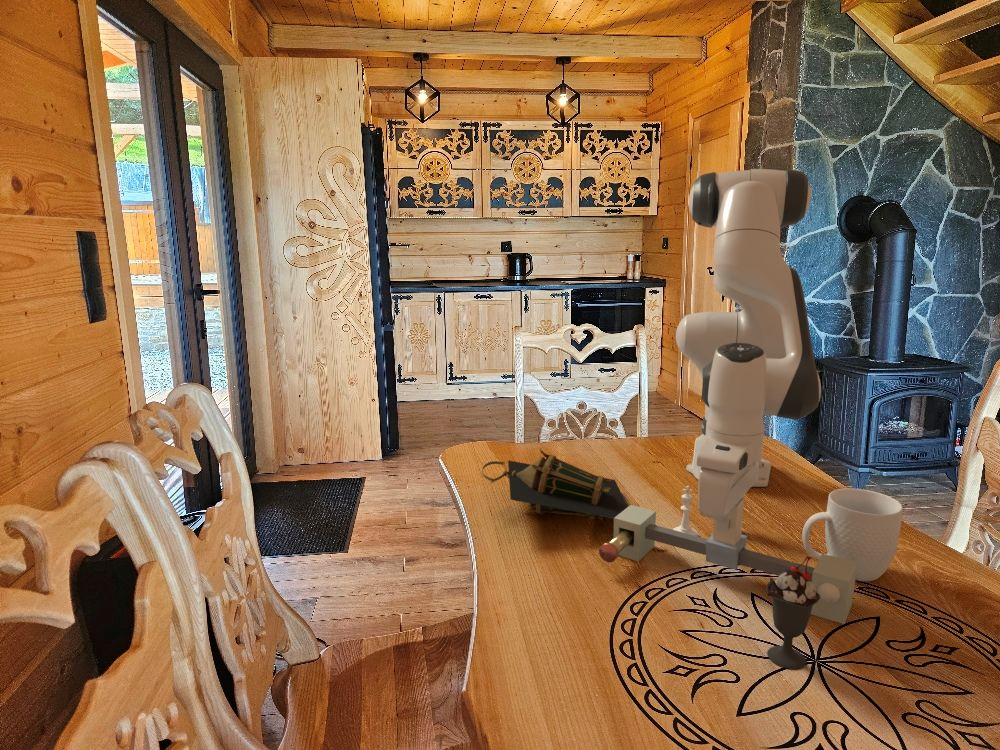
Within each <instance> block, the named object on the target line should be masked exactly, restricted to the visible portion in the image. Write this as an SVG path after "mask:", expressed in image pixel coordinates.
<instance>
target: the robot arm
mask: <svg viewBox="0 0 1000 750" xmlns="http://www.w3.org/2000/svg"><path fill="white" fill-rule="evenodd" d="M808 178H809V177H808V176H807V175H806V173H804V172H803V171H801V170H795V169H788V168H787V169H785V170H779V169H770V168H769V169H768V168H767V169H766V168H750V169H748V170H732V171H725V172H724V171H723V172H719V173H716V172H715V171H713V172H708V173H704V174H700V175H699V176H698V178H696V179H695V180H694V184H693V185H692V187H691V189H690V192H689V194H688V195H689V196H688V209H689V213H690V215H691V219H692V220H693V222H694V223H696V224H697V225H698V226H701V227H705V228H710V229H711V228H712V227H715V231H714V242H713V243H714V244H713V265H714V266H713V268H714V269H713V286H714V288H715V289H716V291H717V292H718V293H719V294H720V295H721V296H723V297H725V298H726V299H729V300H730V301H732V302H734V303H736V304H738V305H739V307H740V308H741V310H740V311H733V312H732V311H701V312H695V313H690V314H689V313H688V314H686V315H684V316H683V317H682V319H681V320H680V321H679V323H678V325H677V326H676V327H677V328H676V330H675V341H676V345H677V347H678V349H679V351H680V352H681V354H683V356H685V357H686V358H687V359H688V360H690V361H691V362H692V364H694V365H695V367H696V368H697V370H698V371H699V373H700V376H701V377H702V386H701V387H702V388H701V397H700V399H701V401H703V403H704V405H705V407H704V410H705V411H704V416H703V417H702V422H701V433H702V434H701V435H699V436H697V437H696V438H695V440H694V450H693V458H692V462H691V463H688V464H687V465H686V468H685V469H686V471H687V472H689V473H691V474H692V475H693V476H694V477H695V478H696V479H697V481H698V482H697V483H698V484H697V486H698V488H697V500H698V501H697V502H698V504H697V506H698V510H699V514H700V515H701V516H703V517H705V518H710V519H712V520H714V519H716V520H717V524H716V528H717V530H718V531H722V532H727V530H728V529H729V528H730V519H729V513H730V510H731V509H732V508H733V507H734V506H735V505H736V503H737V502H738V501H739V500H740V499H741V498H744V497H743V495H744V496H745V494H747V492H748V491H749V490H750V488H752V487H755V488H756V487H757V488H760V487H768V485H769V481H770V475H771V469H772V463H771V462H770V461H768V460H766V459H763V447H764V438H765V437H764V435H765V424H764V420H763V416H775V417H777V418H782V419H787V420H792V421H793V420H794V421H799V420H801V419H804V418H805V417H806V416H808V415H810V414H811V413H812V412H814V411H815V410H817V408H819V403H820V401H821V395H822V385H821V379H820V375H819V371H818V368H817V365H816V361H815V356H814V351H813V350H814V349H813V344H812V338H811V336H812V335H811V332H810V325H809V318H808V312H807V305H806V300H805V295H804V288H803V283H802V280H801V278H800V275H799V272H798V271H797V270H796V269H794V268H793V267H791V266H789V265H788V264H787V262H786V261H785V259H784V257H783V255H782V251H781V229H784V228H786V227H790V226H793V225H797V224H798V223H799V222H800V221H802V220H803V219H804V218H805V215H806V213H807V212H808V210H809V207H810V205H811V202H812V189H811V186H810V185H811V184H810V183H809V179H808Z"/></svg>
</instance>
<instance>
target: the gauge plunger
mask: <svg viewBox="0 0 1000 750" xmlns="http://www.w3.org/2000/svg"><path fill="white" fill-rule="evenodd" d="M633 540H634V531H631V530H627V529H624V530H623V531H622V532H621V533H620V534H618V535H617V536H616V537H615V538H614V539H613V538H612V539H611V540H610V541H609V542H604V543H603V544H601V545H600V546H599V548H598V555H599V556H600V558H601V559H602V560H603V561H604V562H607V563H614V561H616V559H618V556H619V555H618V553H620V552H621V551H622V550H623V549H624V548H625V547H626V546H627V545H629V544H630V543H631V542H632V541H633Z"/></svg>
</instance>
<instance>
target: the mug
mask: <svg viewBox="0 0 1000 750" xmlns="http://www.w3.org/2000/svg"><path fill="white" fill-rule="evenodd" d="M827 498H828V500H827V505H826V511H825V512H824V511H822V512H821V511H820V512H817V513H815V514H812V515H810V517H809V518H808V519H807V520H806V521H805V523H804V526H803V527H802V528H803V529H802V534H801V537H802V544H803V546H804V549H805V550H806V552H807V553H808V554H809V555H810V557H813V558H815V559H816V560H819V559H820V557H821V555H822V554H823V553H821V552H817V551H815V550H814V548H812V546H811V544H810V532H811V529H812V528H813V526H814V525H815V524H816V523H817V522H820V521H825V523H824V524H825V526H824V527H825V530H824V531H825V532H824V533H825V534H824V536H825V547H826V551H827V553H825V554H826V555H830V556H834V557H837V558H841V559H845V560H849V561H853V562H857V569H856V578H855V581H857V582H858V581H859V582H873V581H875V580H877V579H879V578H881V576H882V575H883V574H884V573H885V572H886V571H887V570H888V568H889V567H890V565H891V564H892V561H893V559H894V558H895V554H896V553H897V549H898V545H899V538H900V536H901V535H900V534H901V526H902V518H903V505H902V504H901V503H900V502H899V501H898V500H897V499H894V498H893V497H892V496H890V495H886V494H884V493H881V492H877V491H873V490H868V489H862V488H850V487H849V488H848V487H847V488H838V489H835V490H832V491H831V492H830V493H829V494H828V497H827Z"/></svg>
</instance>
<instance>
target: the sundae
mask: <svg viewBox="0 0 1000 750" xmlns="http://www.w3.org/2000/svg"><path fill="white" fill-rule="evenodd" d="M811 559H812V556H809V555H808V556H807V555H806V556H805V559H804V561H803V562H802V563H800V564H801V565H804V563H805V562H806V564H805V565H806V569H805V570H806V572H802V573H800V569H799V568H798V567H800V566H801V565H799V566H798V567H796V566H793V567H791V569H790V570H787V571H784V572H783V573H782V574H780V575H779V576H778V575H777V579H776V578H775V579H774V578H772V577H770V576H769V578H768V580H769V582H767V583H766V586H765V587H766V593H767V596H768V597H771V604H772V606H771V607H772V618H773V624H774V625H773V626H774V627H775V628H776V629H777V631H778V632H779V633H780V635H781V634H782V636H783V642H782V645H774V646H771V647H769V649H768V650H767V653H766V654H767V658H769V660H770V661H771V662H772V663H773V664H775V665H777V666H778V667H780V668H785V669H789V670H799V669H802V668H803V667H805V666H806V665H807V659H806V657H805V656H804V654H803V653H802V652H800V651H799V650H797V649H795V648H793V641H794V638H797V637H800V636H802V635H803V634H804V633H805V631H806V629H807V627H808V624H809V621H810V617H811V610H812V607H813V605H814V604H816V603H817V602H818V601H819V599H820V595H819V594H818V593H817V592H816V591H815V588H814V586H813V584H812V583H811V582H810V581H809V579H810V574H809V573H808V572H807V566H808V564H809V563H808V562H809V560H811Z"/></svg>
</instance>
